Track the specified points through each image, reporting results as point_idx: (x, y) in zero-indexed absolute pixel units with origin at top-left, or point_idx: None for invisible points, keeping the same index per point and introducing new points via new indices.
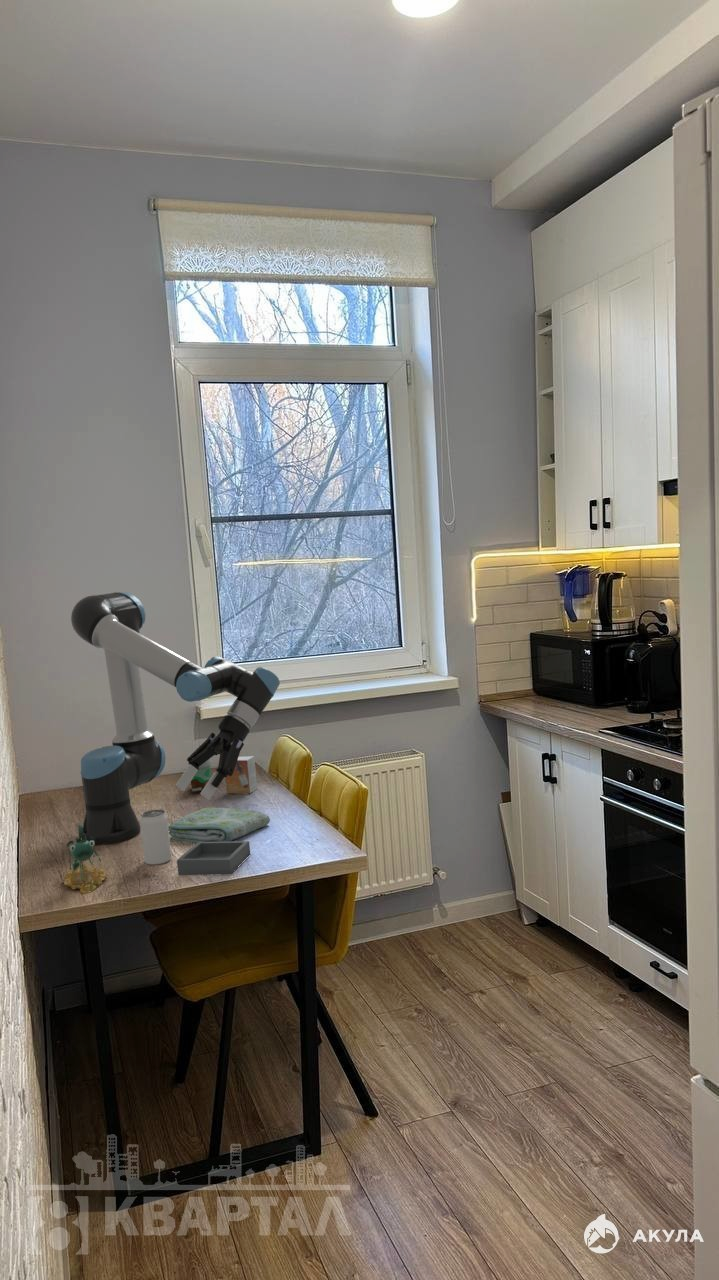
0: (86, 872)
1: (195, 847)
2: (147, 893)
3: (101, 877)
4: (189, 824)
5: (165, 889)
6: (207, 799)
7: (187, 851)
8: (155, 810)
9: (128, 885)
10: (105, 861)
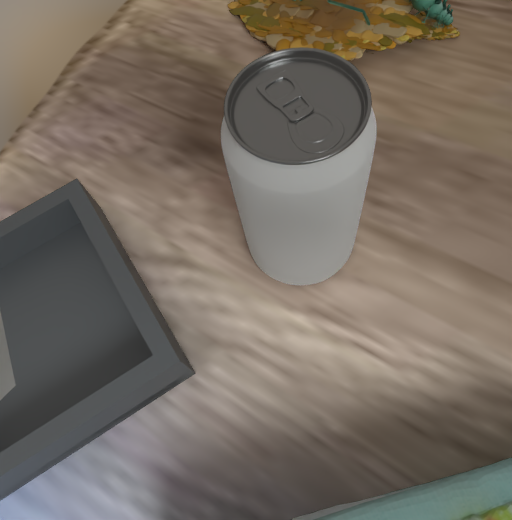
0: (350, 17)
1: (126, 302)
2: (68, 88)
3: (279, 38)
4: (494, 514)
5: (41, 128)
6: (10, 379)
7: (118, 254)
8: (348, 140)
9: (177, 82)
10: (480, 127)
